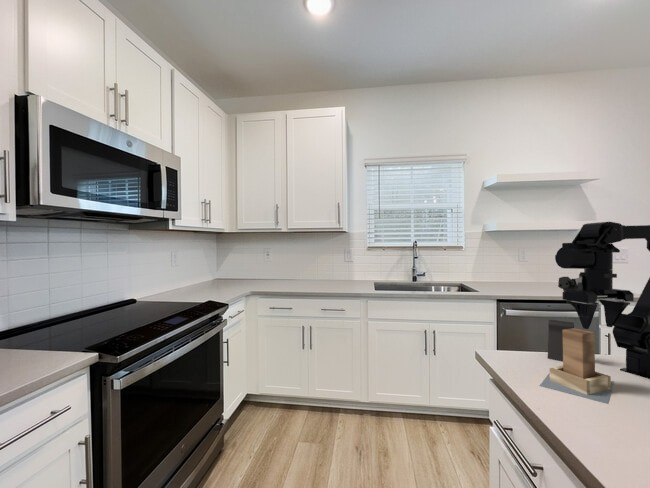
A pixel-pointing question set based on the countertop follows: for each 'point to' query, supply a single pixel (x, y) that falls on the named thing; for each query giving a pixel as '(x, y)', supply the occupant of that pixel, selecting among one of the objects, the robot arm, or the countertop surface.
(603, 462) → the countertop surface
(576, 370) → the walnut block
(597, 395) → the slate board
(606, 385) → the maple socket
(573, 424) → the countertop surface
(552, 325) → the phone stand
